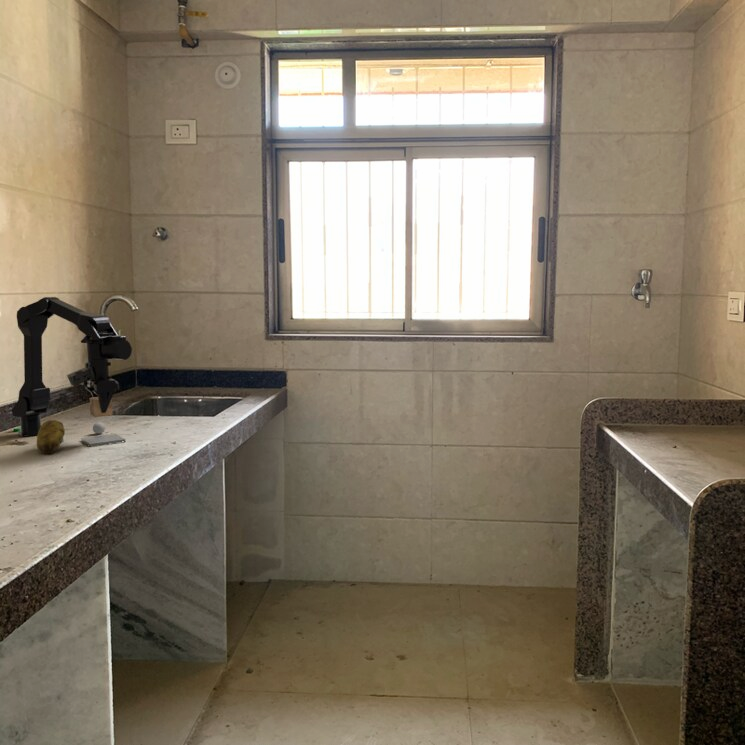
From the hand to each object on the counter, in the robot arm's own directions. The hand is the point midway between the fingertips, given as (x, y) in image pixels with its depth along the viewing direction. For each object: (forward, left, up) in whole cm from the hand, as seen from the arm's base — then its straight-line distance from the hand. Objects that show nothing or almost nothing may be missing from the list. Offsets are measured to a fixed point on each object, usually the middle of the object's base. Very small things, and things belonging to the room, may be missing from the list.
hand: (101, 411), depth 210 cm
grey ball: (-12, +2, -7) cm, 14 cm away
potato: (+3, -15, -9) cm, 18 cm away
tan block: (0, 0, -1) cm, 1 cm away
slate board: (0, 0, -9) cm, 9 cm away
